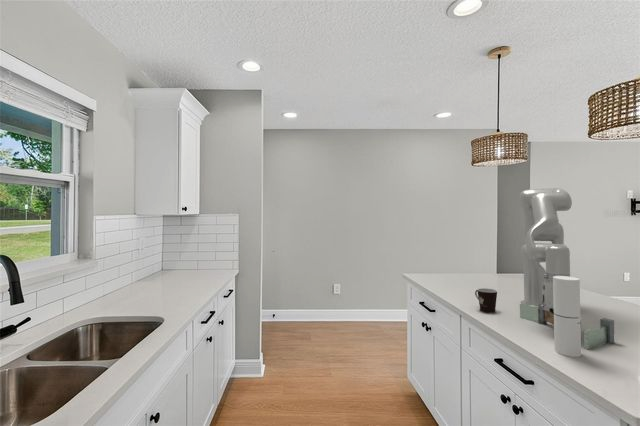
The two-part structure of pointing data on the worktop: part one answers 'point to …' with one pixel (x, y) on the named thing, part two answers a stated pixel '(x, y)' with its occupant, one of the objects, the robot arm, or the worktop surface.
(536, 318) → the hinge post
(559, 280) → the cylindrical container
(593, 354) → the worktop surface
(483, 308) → the coffee mug
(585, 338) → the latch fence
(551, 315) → the gate
